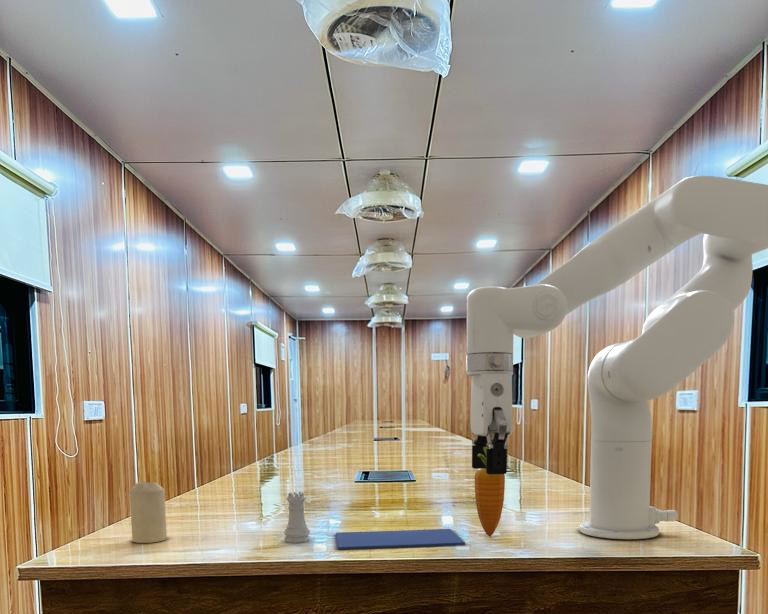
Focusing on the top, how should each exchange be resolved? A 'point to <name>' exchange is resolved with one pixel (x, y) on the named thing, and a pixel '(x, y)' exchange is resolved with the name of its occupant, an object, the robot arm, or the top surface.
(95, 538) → the top surface
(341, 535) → the napkin
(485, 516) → the carrot
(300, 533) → the rook chess piece
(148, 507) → the candle
